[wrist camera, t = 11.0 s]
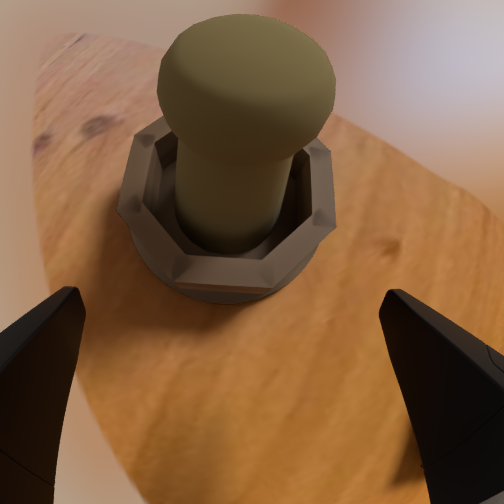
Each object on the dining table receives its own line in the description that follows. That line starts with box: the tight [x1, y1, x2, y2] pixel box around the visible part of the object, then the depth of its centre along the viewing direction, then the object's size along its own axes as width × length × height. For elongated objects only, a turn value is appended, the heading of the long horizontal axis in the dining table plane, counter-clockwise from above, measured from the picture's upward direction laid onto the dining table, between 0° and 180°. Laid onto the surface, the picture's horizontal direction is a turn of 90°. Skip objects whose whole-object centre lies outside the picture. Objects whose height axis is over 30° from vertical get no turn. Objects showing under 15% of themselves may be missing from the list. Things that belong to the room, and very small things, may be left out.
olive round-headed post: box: [157, 14, 336, 255], centre depth 11 cm, size 6×6×11 cm
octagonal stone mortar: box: [116, 116, 336, 304], centre depth 15 cm, size 12×12×4 cm
